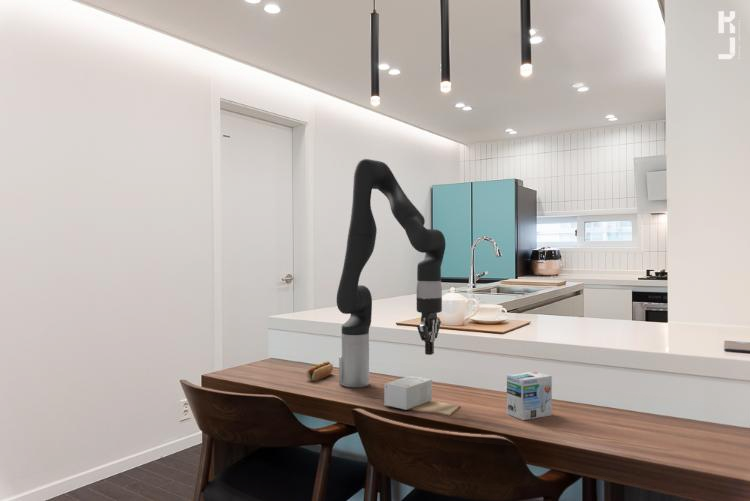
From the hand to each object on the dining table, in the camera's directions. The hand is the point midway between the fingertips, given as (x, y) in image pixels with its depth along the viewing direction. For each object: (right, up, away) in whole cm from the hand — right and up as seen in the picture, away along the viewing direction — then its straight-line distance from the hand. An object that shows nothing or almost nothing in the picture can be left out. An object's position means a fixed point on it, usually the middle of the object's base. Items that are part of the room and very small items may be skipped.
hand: (429, 354), depth 158 cm
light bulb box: (+26, -14, -13) cm, 32 cm away
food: (-36, -15, +31) cm, 50 cm away
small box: (-2, -11, +2) cm, 11 cm away
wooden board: (-3, -14, -5) cm, 15 cm away
